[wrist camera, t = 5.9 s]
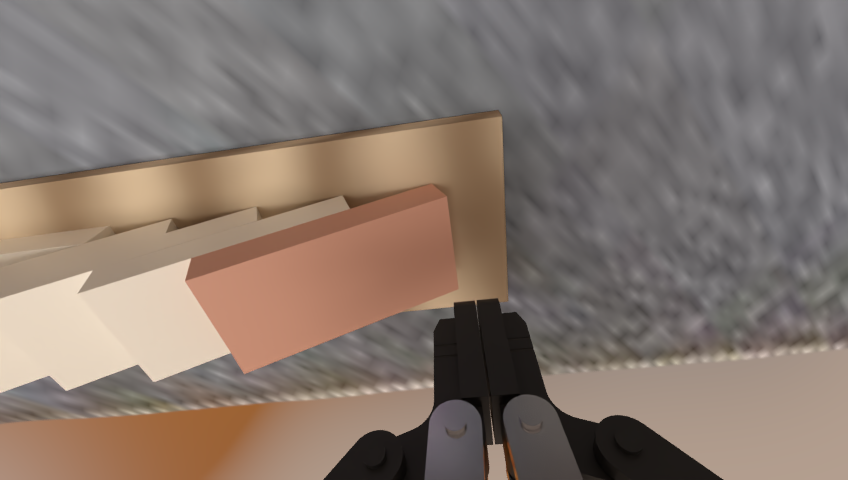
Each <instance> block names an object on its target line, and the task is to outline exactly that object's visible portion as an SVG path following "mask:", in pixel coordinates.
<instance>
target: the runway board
mask: <svg viewBox="0 0 848 480" xmlns="http://www.w3.org/2000/svg"><path fill="white" fill-rule="evenodd" d="M429 184H433V185H434V186H435V187H436V188H437V189H439V190H440V191H441V192H442V193H443V194H445V195H446V196H447V201H448V209H449V217H450V225H451V233H452V241H453V248H454V256H455V264H456V272H457V280H458V287H459V289H458V290H455V291H453V292H450V293H447V294H445V295H442V296H440V297H437V298H435V299H432V300H430V301H427V302H425V303H422V304H420V305H417V306H415V307H412V308H410V309H407V310H405V311H416V310H426V309H436V308H446V307H454V302H463V301H473V300H475V305H477V300H482V299H492V298H498V300H499V302H507V301H508V281H507V252H506V222H505V192H504V163H503V133H502V116H501V114H500V112H499V111H498V110H496V111H489V112H482V113H475V114H468V115H462V116H455V117H448V118H441V119H434V120H428V121H421V122H414V123H407V124H401V125H394V126H387V127H380V128H373V129H367V130H360V131H353V132H346V133H339V134H333V135H326V136H319V137H312V138H305V139H299V140H292V141H285V142H278V143H272V144H265V145H258V146H251V147H244V148H238V149H231V150H224V151H217V152H210V153H204V154H197V155H190V156H183V157H177V158H170V159H163V160H156V161H149V162H143V163H136V164H129V165H122V166H115V167H109V168H102V169H95V170H88V171H82V172H75V173H68V174H61V175H54V176H48V177H41V178H34V179H27V180H20V181H14V182H7V183H0V240H4V239H12V238H20V237H27V236H35V235H42V234H50V233H58V232H65V231H73V230H81V229H88V228H96V227H104V226H110V227H111V229H112V230H113V231H114V233H115V234H120V233H123V232H127V231H130V230H134V229H137V228H141V227H144V226H148V225H151V224H155V223H158V222H162V221H165V220H169V219H172V220H173V222H174V223H175V225H176V227H177V228H178V229H182V228H185V227H188V226H192V225H195V224H199V223H202V222H205V221H209V220H212V219H216V218H219V217H222V216H226V215H229V214H233V213H236V212H239V211H243V210H246V209H250V208H253V207H257V209H258V211H259V213H260V216H261V218H262V219H265V218H268V217H272V216H275V215H278V214H282V213H285V212H288V211H292V210H295V209H298V208H302V207H305V206H308V205H312V204H315V203H318V202H322V201H325V200H328V199H332V198H335V197H338V196H342V195H343V197H344V199H345V201H346V203H347V204H348V206H349V208H350V209H351V208H355V207H358V206H361V205H364V204H367V203H371V202H374V201H377V200H380V199H384V198H387V197H390V196H393V195H396V194H400V193H403V192H406V191H409V190H413V189H416V188H419V187H422V186H425V185H429ZM405 311H402V312H405Z"/></svg>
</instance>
